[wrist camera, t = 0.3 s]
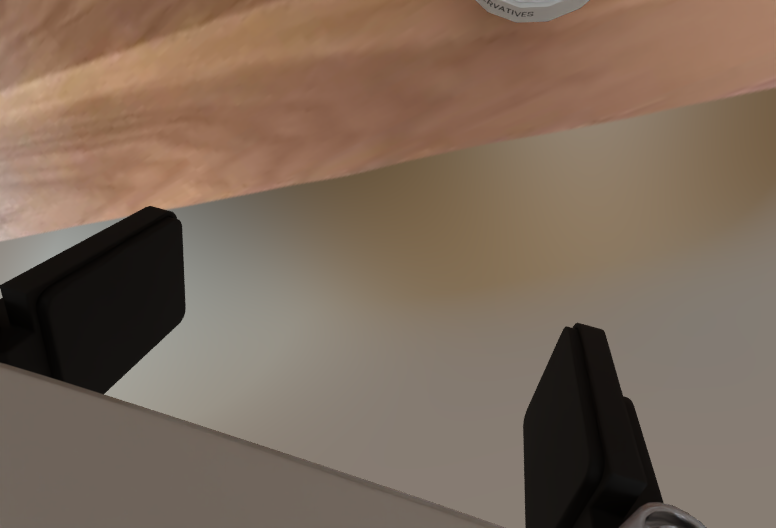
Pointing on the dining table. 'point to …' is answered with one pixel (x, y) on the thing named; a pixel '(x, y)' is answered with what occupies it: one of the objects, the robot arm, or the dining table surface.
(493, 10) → the supplement can
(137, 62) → the dining table surface
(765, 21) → the dining table surface
